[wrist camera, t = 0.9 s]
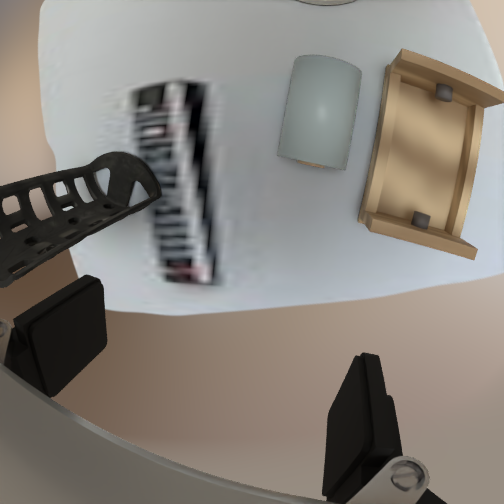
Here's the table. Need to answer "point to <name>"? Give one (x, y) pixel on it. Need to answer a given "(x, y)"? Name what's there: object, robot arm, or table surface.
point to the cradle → (426, 153)
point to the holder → (67, 222)
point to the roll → (320, 111)
